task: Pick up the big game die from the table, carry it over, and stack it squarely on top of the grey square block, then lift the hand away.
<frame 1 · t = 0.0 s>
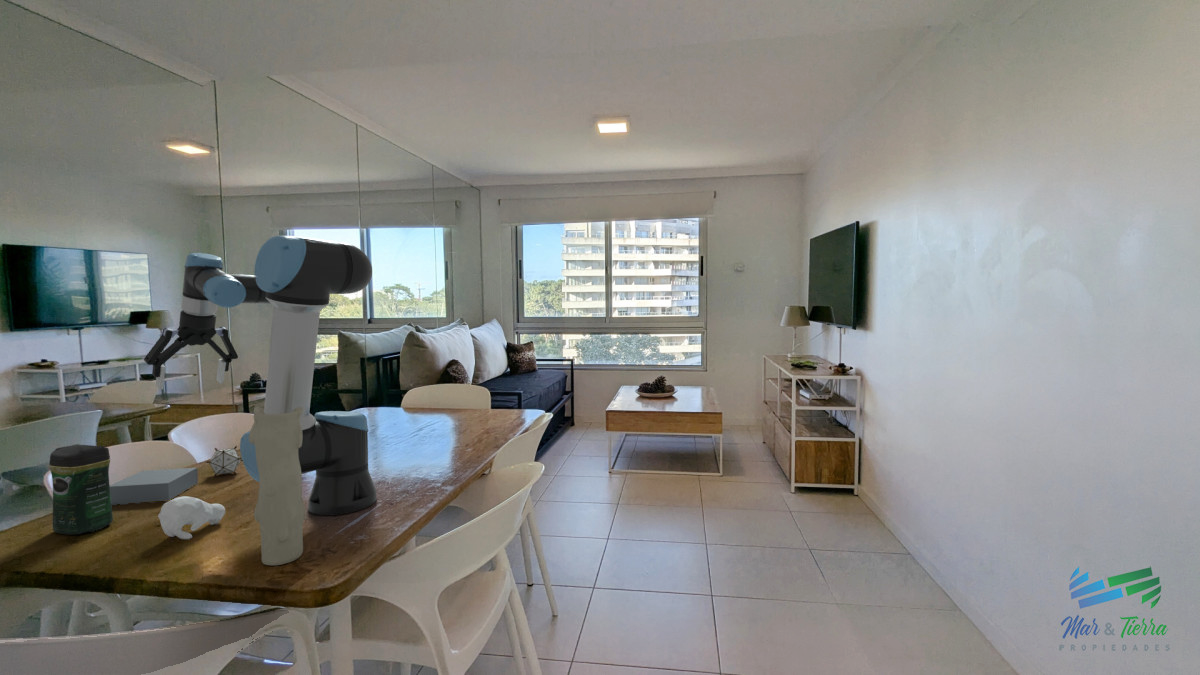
hand: (190, 384, 138), 28 cm above the table, tool tilted 20°, fingers open, 13 cm apart
grey square block: (155, 495, 132), on the table
game die: (225, 475, 147), on the table
white animal figurine: (196, 532, 109), on the table
vase: (282, 558, 98), on the table
coffee jar: (83, 529, 111), on the table
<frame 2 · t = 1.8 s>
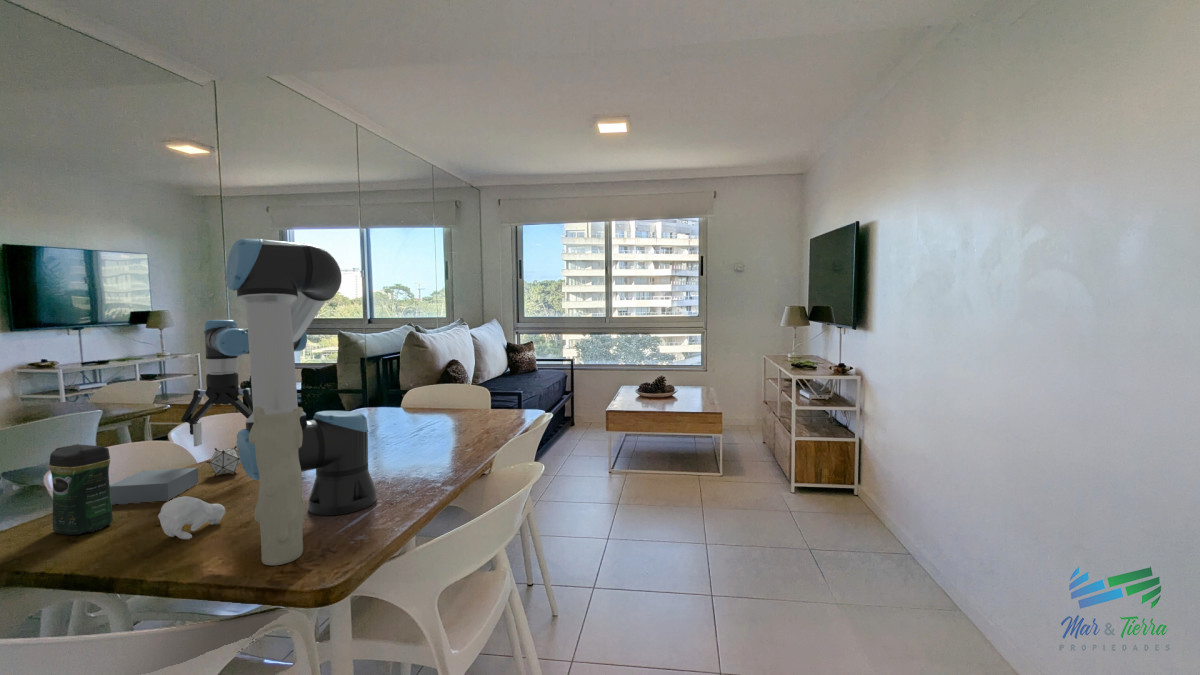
hand: (224, 444, 147), 9 cm above the table, tool pointing down, fingers open, 13 cm apart
nothing on the table moved.
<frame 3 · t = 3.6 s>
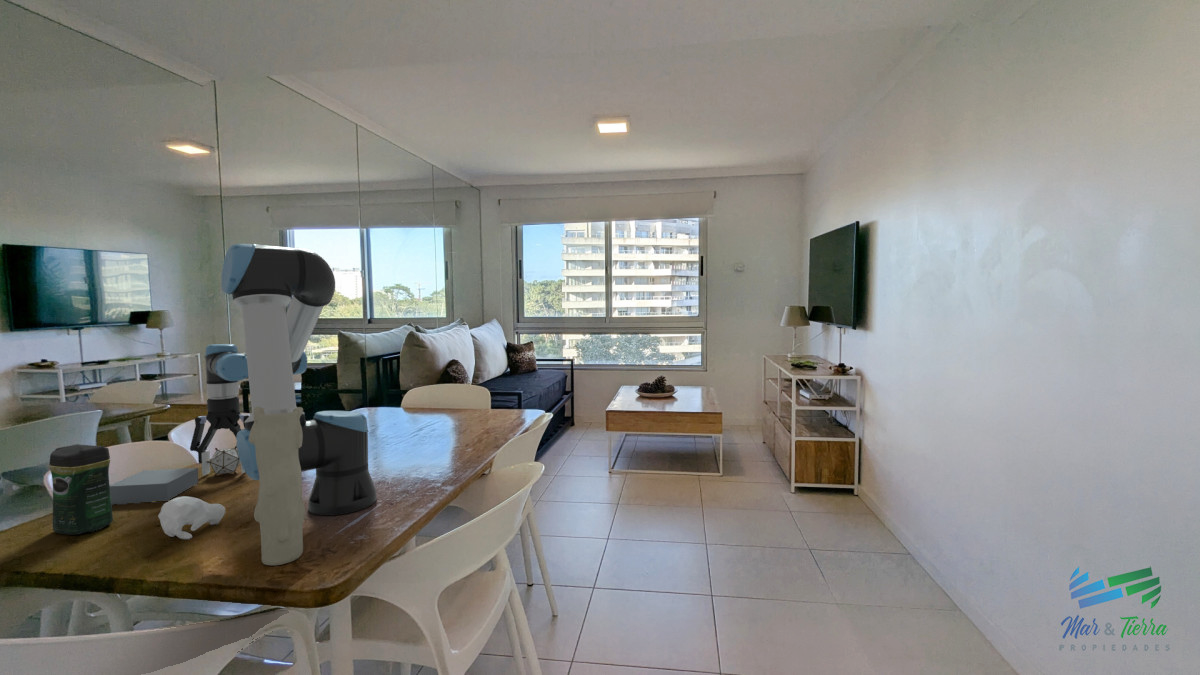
hand: (225, 472, 147), 1 cm above the table, tool pointing down, fingers closed on game die, 9 cm apart
game die: (226, 475, 147), on the table, touching gripper
everything else where it was.
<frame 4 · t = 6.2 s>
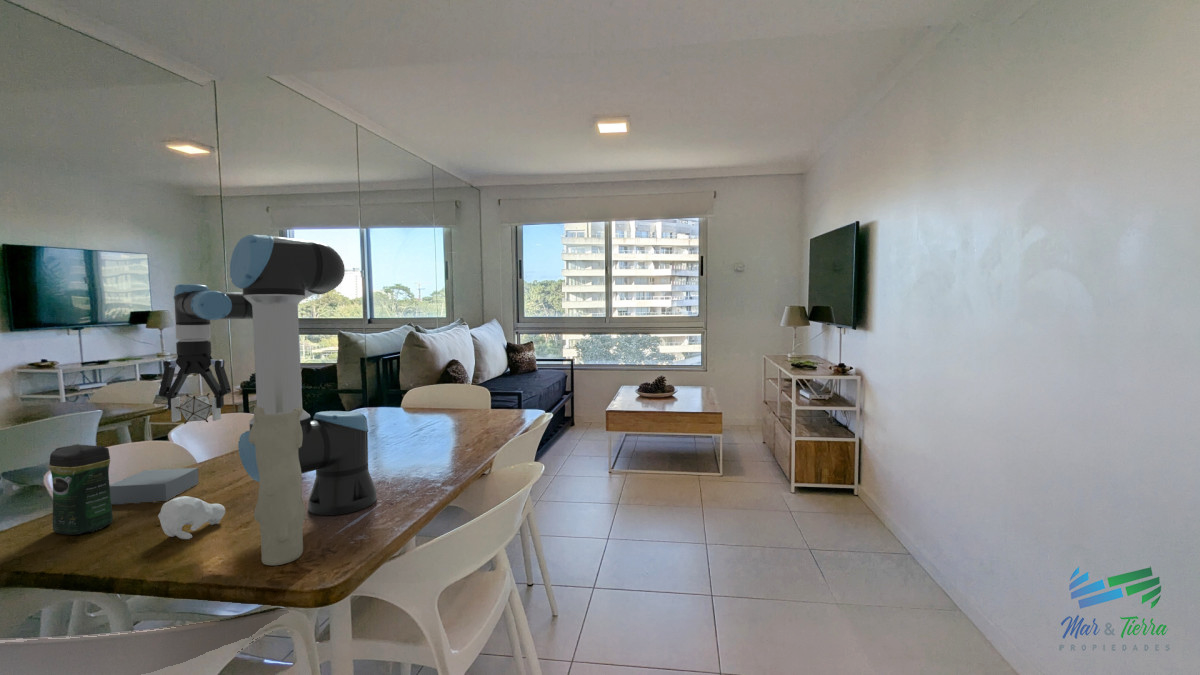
hand: (196, 420, 140), 17 cm above the table, tool pointing down, fingers closed on game die, 9 cm apart
game die: (197, 423, 140), point 17 cm above the table, touching gripper
everything else where it was.
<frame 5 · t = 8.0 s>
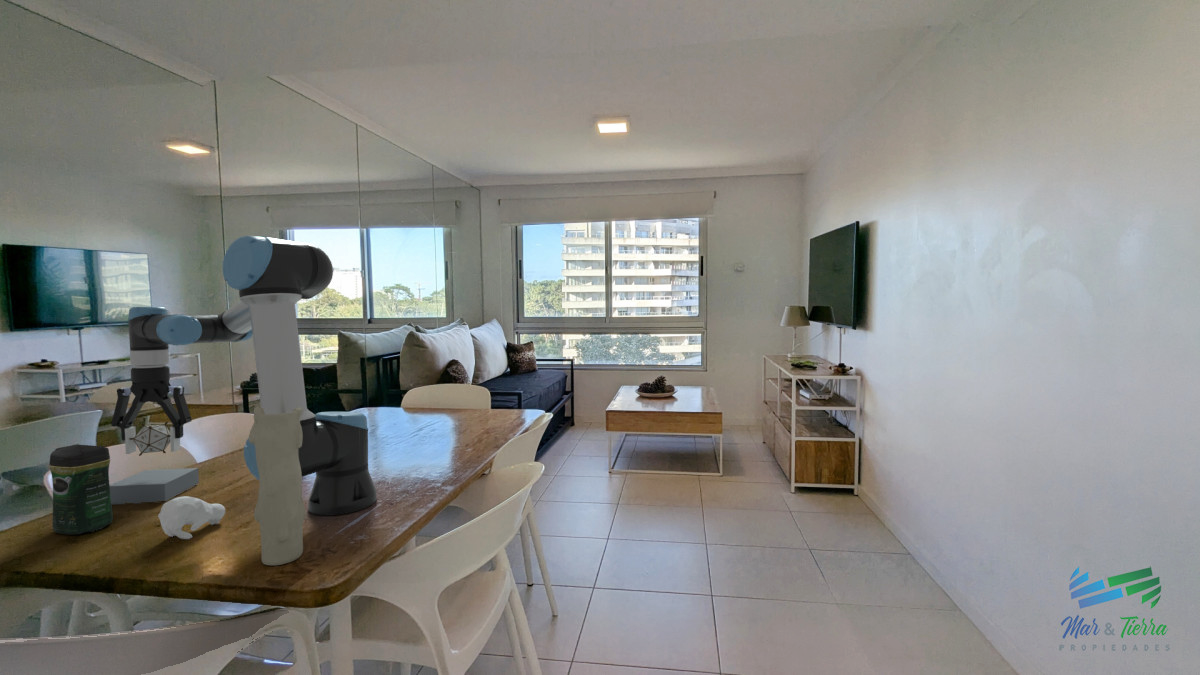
hand: (153, 451, 131), 11 cm above the table, tool pointing down, fingers closed on game die, 9 cm apart
game die: (154, 454, 131), point 11 cm above the table, touching gripper
everything else where it was.
when the fingers open (7 cm above the table, at t = 9.3 s): game die drops 2 cm, point 4 cm above the table.
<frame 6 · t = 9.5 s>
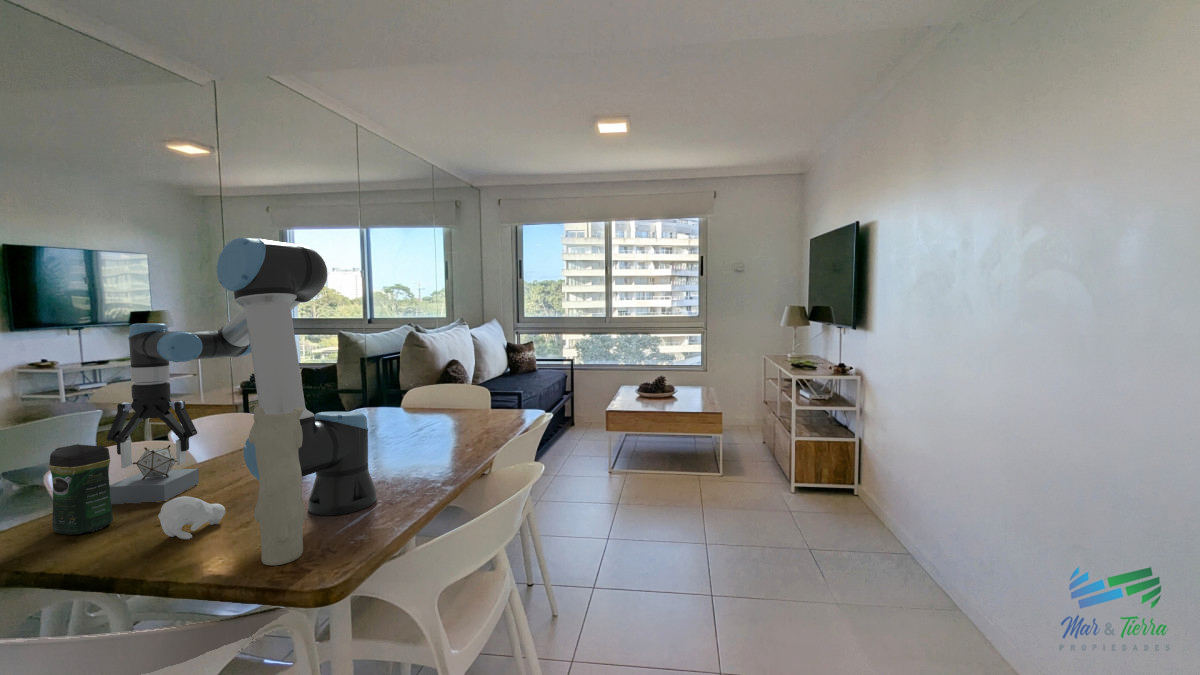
hand: (154, 465, 131), 8 cm above the table, tool pointing down, fingers open, 11 cm apart
game die: (157, 477, 131), point 4 cm above the table
everything else where it was.
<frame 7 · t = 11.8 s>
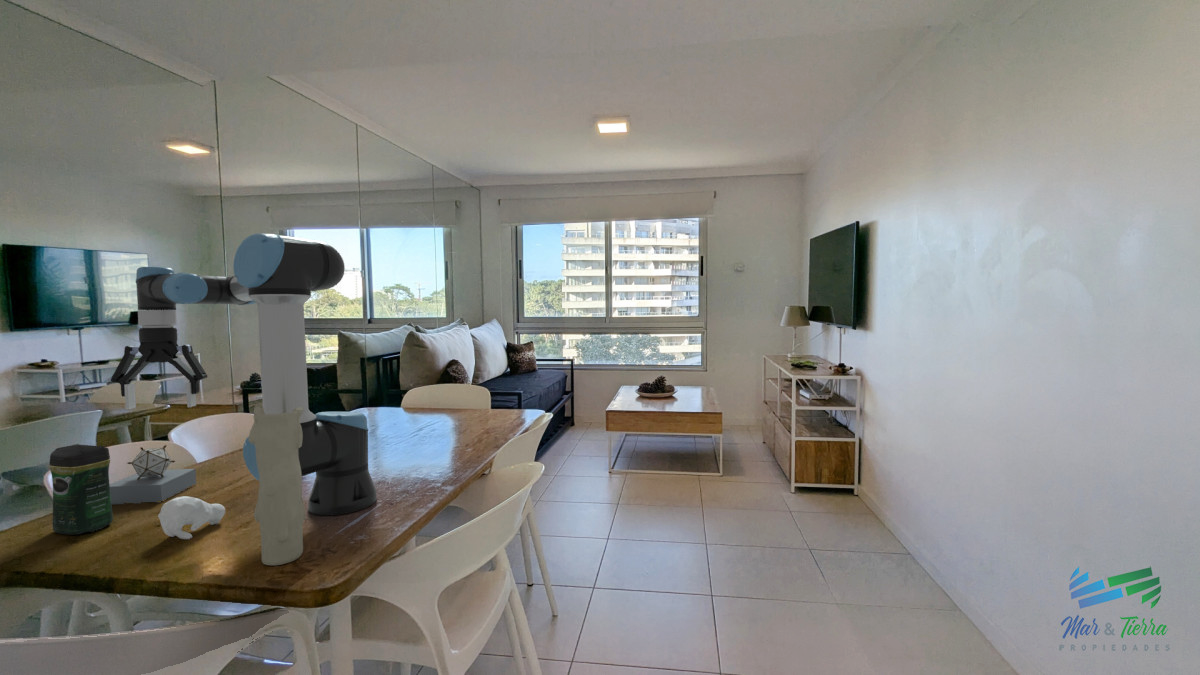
hand: (161, 407, 131), 23 cm above the table, tool pointing down, fingers open, 13 cm apart
grey square block: (152, 495, 132), on the table, touching game die
game die: (152, 478, 131), point 4 cm above the table, touching grey square block
everything else where it was.
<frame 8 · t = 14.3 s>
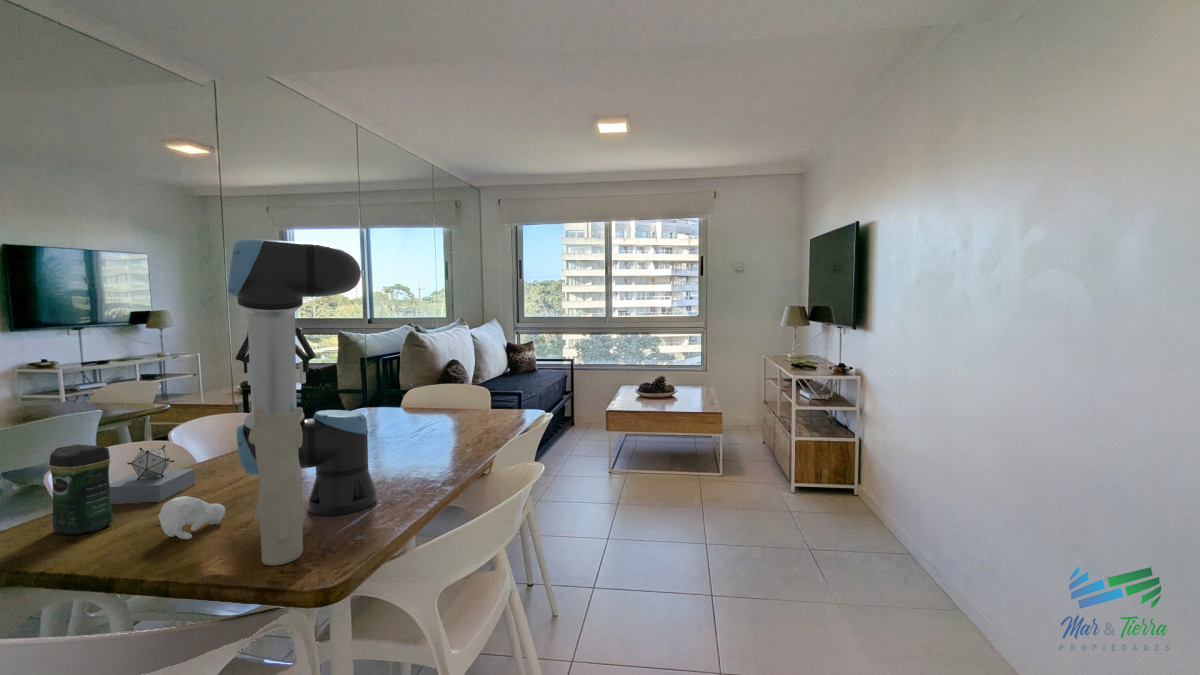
hand: (277, 383, 147), 27 cm above the table, tool pointing down, fingers open, 13 cm apart
nothing on the table moved.
at the end: game die inside the target area on the grey square block (0.4 cm from its centre), point 4.8 cm above the grey square block's base; game die tilted 0°; the gripper is holding nothing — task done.
